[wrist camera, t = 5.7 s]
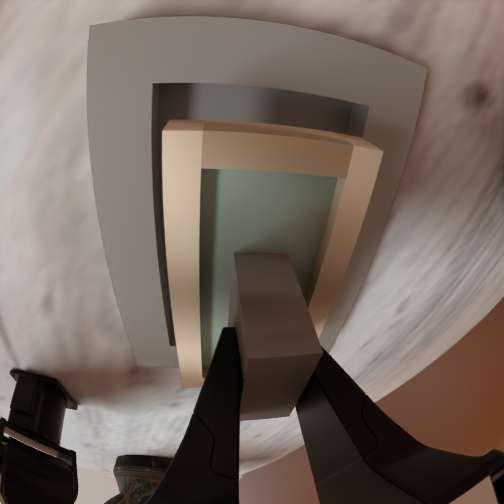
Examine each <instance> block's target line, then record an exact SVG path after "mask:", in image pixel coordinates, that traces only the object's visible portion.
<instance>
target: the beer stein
mask: <svg viewBox="0 0 504 504" xmlns="http://www.w3.org/2000/svg"><path fill="white" fill-rule="evenodd" d="M172 460H173V459H170V458H163V457H156V456H144V455H124V456H118V457H117V459H116V463H115V466H114V470H113V472H114V476H115V478H116V480H117V484H118V487H119V491H120V494H118V495H116V496H115V497H113V498H111V499H110V500H108V501H107V502H106V503H104V504H145V503H146V502H147V500H148V499H149V498H150V497H151V495H152V494H153V493H154V491H155V490H156V488H157V487H158V485H159V483H160V482H161V480H162V478H163V476H164V474H165V473H166V471H167V469H168V467H169V465H170V463H171V461H172Z"/></svg>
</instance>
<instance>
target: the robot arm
mask: <svg viewBox="0 0 504 504" xmlns="http://www.w3.org/2000/svg"><path fill="white" fill-rule="evenodd" d="M321 348H322V351H323V354H322V356H321V358H320V360H319V362H318V364H317V366H316V368H315V370H314V372H313V374H312V376H311V378H310V379H309V381H308V383H307V385H306V387H305V389H304V391H303V392H302V394H301V396H300V398H299V400H298V401H297V403H296V405H295V407H296V411H297V415H298V419H299V423H300V427H301V431H302V435H303V439H304V442H305V446H306V450H307V454H308V458H309V462H310V466H311V470H312V474H313V477H314V481H315V486H316V490H317V494H318V498H319V502H320V504H504V451H502V450H500V449H497V448H492V449H490V450H488V451H487V452H485V453H483V454H482V455H480V456H478V457H474V456H467V455H462V454H457V453H452V452H448V451H444V450H440V449H435V448H432V447H429V446H426V445H424V444H422V443H420V442H419V441H417V440H416V439H415V438H413V437H412V436H411V435H410V434H409V433H407V432H406V431H405V430H404V429H403V428H401V427H400V426H399V425H398V424H397V423H395V422H394V421H393V420H392V419H391V418H390V417H389V416H387V415H386V414H385V413H384V412H383V411H382V410H381V409H380V408H379V407H378V406H377V405H376V404H375V403H374V402H373V401H372V400H371V399H370V398H369V396H368V395H365V392H364V391H363V390H362V389H361V388H360V387H359V386H358V385H357V384H356V383H355V382H354V380H353V379H352V378H351V377H350V376H349V375H348V374H347V373H346V372H345V371H344V370H343V369H342V367H341V366H340V365H339V364H338V363H337V362H336V361H335V360H334V359H333V358H332V357H331V356H330V354H329V353H328V352H327V351H326V350H325V349H324V348H323V347H322V346H321ZM10 375H11V376H12V377H13V378H14V380H15V381H16V382H17V383H16V386H15V390H14V393H13V397H12V400H11V404H10V409H11V410H10V414H9V418H8V421H6V419H4V418H3V417H1V418H0V502H1V504H74V502H75V501H76V499H77V495H78V478H77V464H76V452H75V451H73V450H68V449H66V448H63V447H61V446H60V440H61V433H62V427H63V421H64V415H65V410H66V408H68V409H73V410H77V408H78V406H77V404H76V403H75V402H74V401H73V400H72V398H71V397H70V396H69V395H68V394H67V392H66V391H65V390H64V389H63V387H62V386H61V385H60V383H59V382H58V381H57V380H55V379H51V378H46V377H41V376H36V375H32V374H27V373H23V372H19V371H14V370H11V371H10ZM240 382H241V360H240V354H239V347H238V341H237V335H236V329H235V327H223V328H222V331H221V334H220V337H219V340H218V342H217V345H216V348H215V351H214V354H213V357H212V360H211V363H210V365H209V368H208V371H207V374H206V377H205V380H204V383H203V385H202V388H201V391H200V394H199V397H198V400H197V403H196V406H195V408H194V411H193V414H192V417H191V420H190V422H189V425H188V428H187V430H186V433H185V435H184V438H183V440H182V442H181V444H180V446H179V448H178V450H177V452H176V454H175V456H174V458H173V460H172V461H171V463H170V465H169V467H168V469H167V471H166V473H165V474H164V476H163V478H162V480H161V482H160V483H159V485H158V487H157V488H156V490H155V491H154V493H153V494H152V495H151V497H150V498H149V499H148V500H147V502H146V503H145V504H239V436H240ZM4 432H5V433H7V434H8V435H10V436H12V437H14V438H16V439H18V440H20V441H22V442H24V443H26V444H24V443H22V442H20V441H18V440H16V439H14V438H12V437H10V436H9V437H5V436H4ZM27 444H28V445H27ZM29 445H30V446H29ZM31 446H33V447H35V448H37V449H39V450H37V449H35V448H33V447H31ZM40 450H42V451H44V452H46V453H44V452H42V451H40ZM47 453H49V454H51V455H49V454H47ZM52 455H54V456H56V457H54V456H52Z"/></svg>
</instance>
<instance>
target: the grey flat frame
mask: <svg viewBox="0 0 504 504" xmlns="http://www.w3.org/2000/svg"><path fill="white" fill-rule="evenodd" d="M427 69H428V68H426V67H424V66H422V65H419V64H417V63H415V62H412V61H410V60H408V59H405V58H403V57H400V56H398V55H395V54H393V53H390V52H387V51H385V50H382V49H379V48H376V47H373V46H370V45H367V44H364V43H361V42H358V41H355V40H351V39H348V38H344V37H341V36H337V35H333V34H329V33H325V32H321V31H317V30H312V29H308V28H303V27H298V26H293V25H287V24H281V23H275V22H268V21H260V20H251V19H241V18H229V17H208V16H173V17H153V18H141V19H131V20H123V21H115V22H109V23H102V24H97V25H91V26H90V29H89V41H88V58H87V119H88V137H89V150H90V161H91V170H92V179H93V187H94V194H95V201H96V208H97V214H98V220H99V225H100V231H101V236H102V241H103V246H104V251H105V255H106V260H107V264H108V269H109V273H110V277H111V281H112V285H113V289H114V293H115V296H116V300H117V304H118V307H119V311H120V314H121V318H122V321H123V324H124V327H125V331H126V334H127V337H128V340H129V343H130V346H131V349H132V352H133V355H134V358H135V360H136V363H137V366H149V367H175V368H180V366H179V360H178V353H177V346H176V339H175V332H174V325H173V317H172V308H171V300H170V290H169V280H168V269H167V258H166V244H165V229H164V210H163V181H162V130H163V129H164V127H165V126H166V125H167V123H168V122H169V120H221V121H239V122H253V123H265V124H275V125H284V126H293V127H301V128H308V129H315V130H322V131H328V132H334V133H340V134H346V135H351V136H357V137H361V138H363V139H364V140H366V141H368V142H369V143H371V144H372V145H374V146H376V147H377V148H379V149H380V150H382V151H383V155H382V159H381V163H380V166H379V170H378V174H377V177H376V181H375V184H374V188H373V191H372V195H371V198H370V201H369V204H368V208H367V211H366V214H365V217H364V220H363V223H362V226H361V229H360V232H359V235H358V238H357V241H356V244H355V247H354V250H353V253H352V256H351V258H350V261H349V264H348V267H347V269H346V272H345V275H344V277H343V280H342V283H341V285H340V288H339V290H338V293H337V296H336V298H335V301H334V303H333V306H332V308H331V311H330V313H329V315H328V318H327V320H326V323H325V325H324V327H323V330H322V332H321V334H320V337H319V342H320V345H321V346H322V347H323V348H324V349H325V350H326V351H327V352H328V353H329V352H330V350H331V348H332V346H333V344H334V342H335V340H336V338H337V336H338V334H339V332H340V330H341V328H342V326H343V324H344V322H345V320H346V318H347V316H348V314H349V311H350V309H351V307H352V305H353V303H354V301H355V298H356V296H357V294H358V292H359V289H360V287H361V285H362V282H363V280H364V278H365V275H366V273H367V271H368V268H369V266H370V263H371V261H372V259H373V256H374V254H375V251H376V248H377V246H378V243H379V241H380V238H381V235H382V233H383V230H384V227H385V225H386V222H387V219H388V216H389V213H390V211H391V208H392V205H393V202H394V199H395V196H396V193H397V190H398V187H399V183H400V180H401V177H402V174H403V170H404V167H405V164H406V160H407V157H408V153H409V150H410V146H411V142H412V138H413V134H414V131H415V126H416V122H417V118H418V114H419V110H420V105H421V100H422V96H423V91H424V86H425V80H426V75H427Z"/></svg>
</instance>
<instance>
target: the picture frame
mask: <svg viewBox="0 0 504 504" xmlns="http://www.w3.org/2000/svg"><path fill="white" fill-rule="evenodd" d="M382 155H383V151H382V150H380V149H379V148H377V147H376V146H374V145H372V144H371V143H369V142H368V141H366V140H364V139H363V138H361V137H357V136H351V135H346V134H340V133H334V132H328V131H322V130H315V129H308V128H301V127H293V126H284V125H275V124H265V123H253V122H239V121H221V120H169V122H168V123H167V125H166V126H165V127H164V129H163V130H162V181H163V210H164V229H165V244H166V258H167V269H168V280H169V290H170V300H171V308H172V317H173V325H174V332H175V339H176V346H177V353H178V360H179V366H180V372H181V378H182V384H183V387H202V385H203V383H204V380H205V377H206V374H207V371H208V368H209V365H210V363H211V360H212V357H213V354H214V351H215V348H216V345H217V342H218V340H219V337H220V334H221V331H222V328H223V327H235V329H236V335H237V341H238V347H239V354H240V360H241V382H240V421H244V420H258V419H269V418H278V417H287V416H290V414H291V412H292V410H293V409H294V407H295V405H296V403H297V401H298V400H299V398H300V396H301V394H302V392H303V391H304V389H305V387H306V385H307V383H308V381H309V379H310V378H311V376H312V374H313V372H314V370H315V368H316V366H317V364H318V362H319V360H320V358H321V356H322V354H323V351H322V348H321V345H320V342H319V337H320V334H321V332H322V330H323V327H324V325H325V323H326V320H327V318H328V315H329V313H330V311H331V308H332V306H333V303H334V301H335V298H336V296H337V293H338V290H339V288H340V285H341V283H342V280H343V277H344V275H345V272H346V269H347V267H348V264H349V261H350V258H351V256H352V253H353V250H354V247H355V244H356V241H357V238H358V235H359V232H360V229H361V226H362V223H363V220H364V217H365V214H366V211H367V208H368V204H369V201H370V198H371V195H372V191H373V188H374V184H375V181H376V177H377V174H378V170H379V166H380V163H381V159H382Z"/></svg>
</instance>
